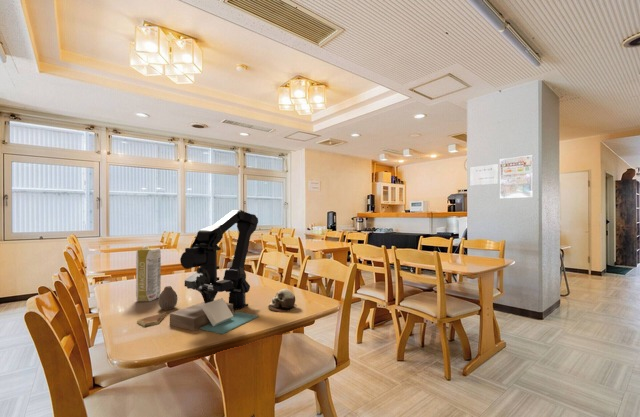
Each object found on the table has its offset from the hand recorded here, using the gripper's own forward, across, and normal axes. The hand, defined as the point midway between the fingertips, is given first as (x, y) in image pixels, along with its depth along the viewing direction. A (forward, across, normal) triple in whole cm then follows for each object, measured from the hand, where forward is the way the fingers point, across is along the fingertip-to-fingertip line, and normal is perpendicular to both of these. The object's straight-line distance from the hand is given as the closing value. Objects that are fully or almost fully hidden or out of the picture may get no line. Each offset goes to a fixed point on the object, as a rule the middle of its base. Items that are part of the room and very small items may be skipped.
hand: (208, 307), depth 108 cm
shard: (+5, -19, -9) cm, 22 cm away
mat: (+5, +9, +2) cm, 10 cm away
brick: (+5, -3, 0) cm, 5 cm away
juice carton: (+5, -46, +7) cm, 47 cm away
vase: (+5, -26, +3) cm, 26 cm away
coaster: (+1, +4, 0) cm, 5 cm away
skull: (+5, +16, +25) cm, 30 cm away
